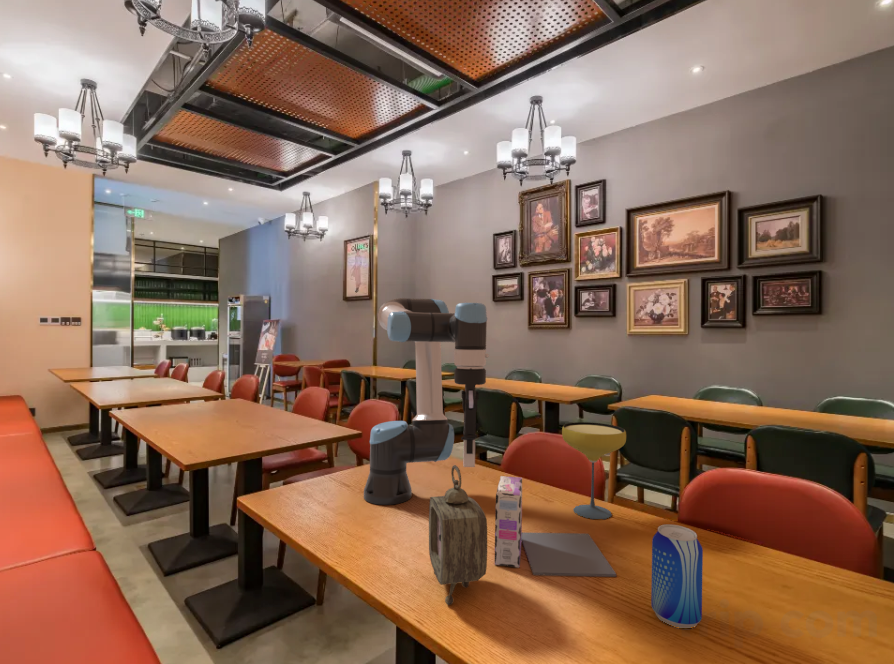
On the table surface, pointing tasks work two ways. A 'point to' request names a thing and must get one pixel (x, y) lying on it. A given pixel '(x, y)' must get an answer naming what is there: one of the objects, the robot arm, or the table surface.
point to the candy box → (508, 521)
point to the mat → (565, 555)
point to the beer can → (677, 576)
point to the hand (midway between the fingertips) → (469, 466)
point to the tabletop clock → (457, 537)
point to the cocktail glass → (593, 453)
